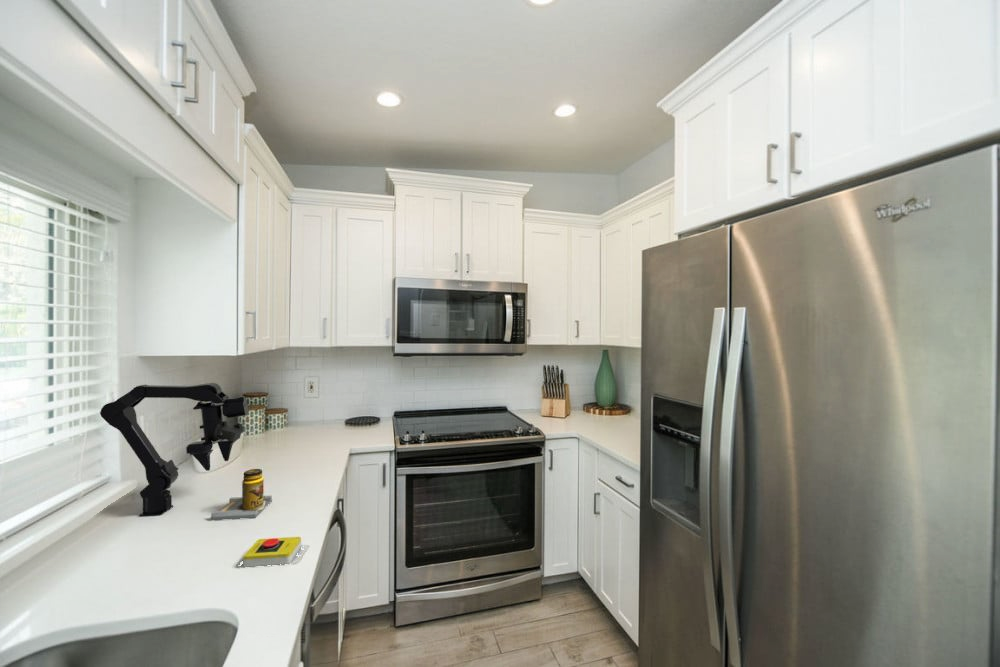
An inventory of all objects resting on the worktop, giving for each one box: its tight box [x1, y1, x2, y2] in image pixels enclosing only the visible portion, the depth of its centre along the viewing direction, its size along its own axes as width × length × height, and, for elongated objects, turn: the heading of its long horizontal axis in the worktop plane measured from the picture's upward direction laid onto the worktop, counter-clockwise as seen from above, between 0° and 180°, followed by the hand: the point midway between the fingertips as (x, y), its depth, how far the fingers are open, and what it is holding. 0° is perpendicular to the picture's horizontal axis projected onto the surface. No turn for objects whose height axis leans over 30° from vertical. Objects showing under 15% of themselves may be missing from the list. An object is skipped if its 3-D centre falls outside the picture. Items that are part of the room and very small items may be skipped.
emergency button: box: [236, 536, 311, 569], centre depth 108 cm, size 9×4×15 cm
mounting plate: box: [210, 498, 273, 521], centre depth 136 cm, size 13×13×1 cm
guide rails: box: [210, 494, 273, 518], centre depth 136 cm, size 13×12×1 cm
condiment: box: [235, 468, 266, 510], centre depth 136 cm, size 7×8×12 cm
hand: (217, 465), depth 141 cm, fingers open, 9 cm apart
